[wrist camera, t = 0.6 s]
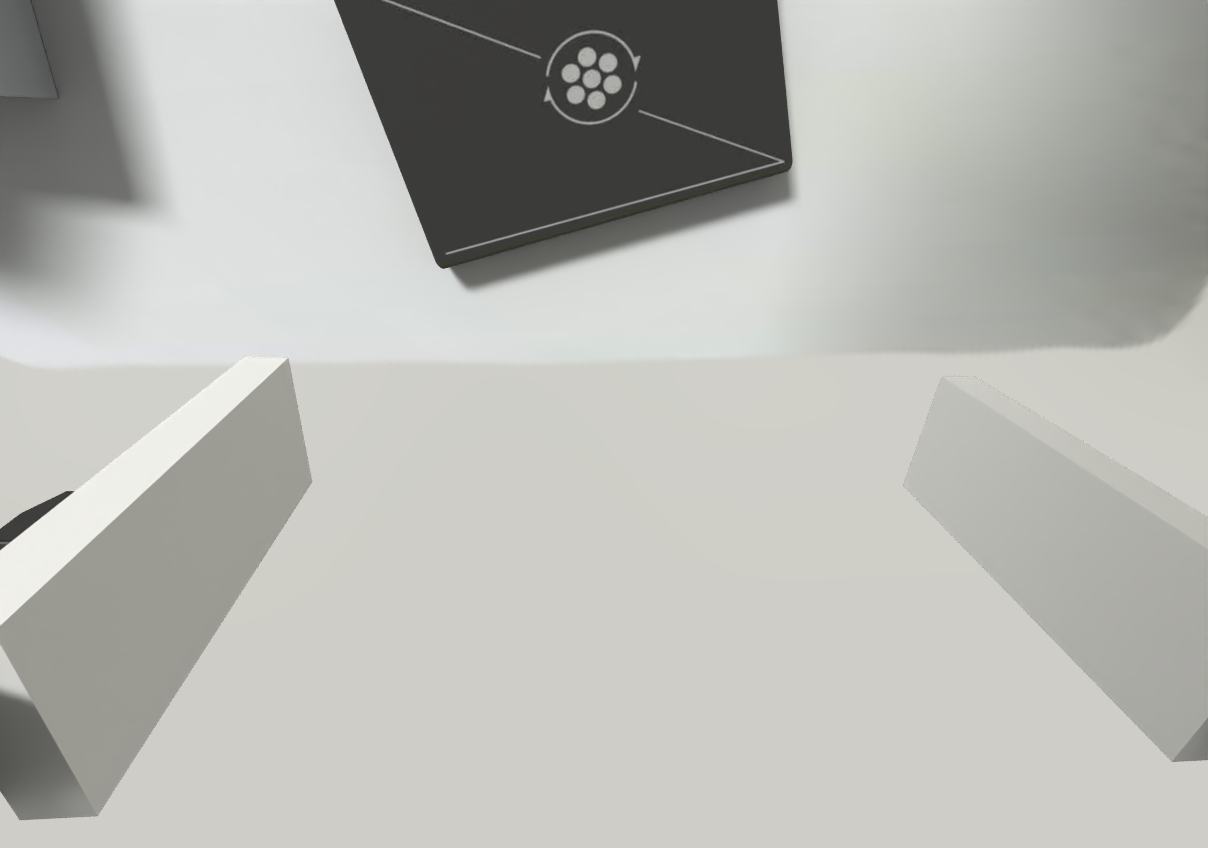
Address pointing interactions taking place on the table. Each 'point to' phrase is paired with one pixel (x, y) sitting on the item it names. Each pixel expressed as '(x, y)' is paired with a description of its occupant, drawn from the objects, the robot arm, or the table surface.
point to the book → (568, 109)
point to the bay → (23, 53)
